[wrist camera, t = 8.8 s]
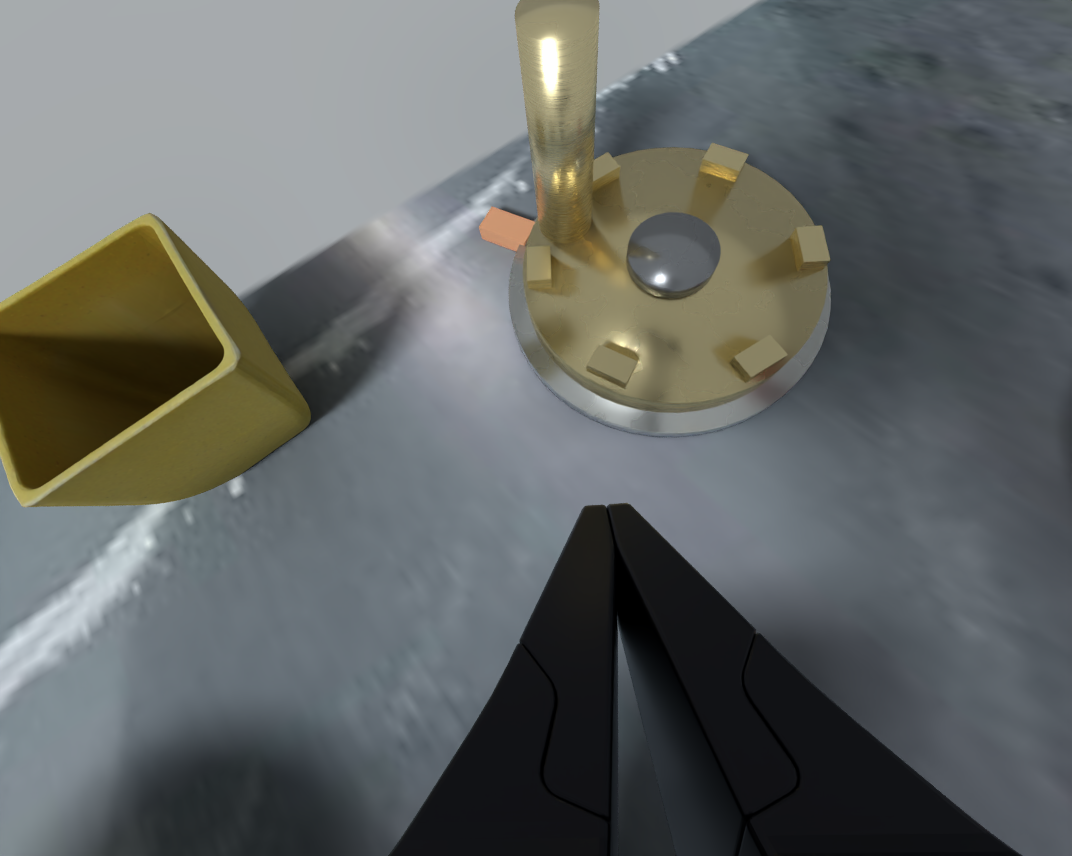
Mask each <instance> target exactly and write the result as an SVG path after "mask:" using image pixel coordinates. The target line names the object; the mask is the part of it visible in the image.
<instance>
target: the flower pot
mask: <svg viewBox="0 0 1072 856" xmlns="http://www.w3.org/2000/svg"><path fill="white" fill-rule="evenodd" d="M310 420H311V412H310V409H309V407H308V404H307V402H306V401H305V399H304V398H303V396H302V395H301V393H300V392H299V390H298V389H297V387H296V386H295V384H294V383H293V381H292V380H291V378H290V376H289V375H288V373H287V372H286V370H285V369H284V367H283V366H282V364H281V362H280V361H279V359H278V358H277V356H276V355H275V353H274V351H273V350H272V348H271V347H270V345H269V343H268V342H267V340H266V338H265V337H264V335H263V333H262V332H261V330H260V328H259V326H258V325H257V323H256V322H255V320H254V319H253V317H252V316H251V314H250V313H249V311H248V310H247V308H246V307H245V306H244V304H243V303H242V302H241V301H240V299H239V298H238V297H237V296H236V295H235V294H234V292H233V291H232V290H231V289H230V288H229V287H228V286H227V285H226V284H225V283H224V282H223V281H222V280H221V279H220V278H219V277H218V276H217V275H216V274H215V273H214V272H213V271H212V270H211V269H210V268H209V267H208V266H207V265H206V264H205V263H204V262H203V261H202V260H201V259H200V258H199V257H198V256H197V255H196V254H195V253H194V252H193V251H192V250H191V249H190V248H189V247H188V246H187V245H186V244H185V243H184V242H183V241H182V240H181V239H180V238H179V237H178V236H177V235H176V234H175V233H174V232H173V231H172V230H171V229H170V228H169V227H168V226H167V225H166V224H165V223H164V222H163V221H162V220H161V219H160V218H158V217H157V216H155V215H153V214H151V213H148V214H145V215H143V216H141V217H139V218H137V219H135V220H133V221H132V222H130V223H128V224H127V225H125V226H123V227H121V228H120V229H118V230H116V231H114V232H113V233H112V234H110V235H108V236H107V237H105V238H104V239H102V240H101V241H99V242H98V243H96V244H95V245H93V246H91V247H90V248H88V249H87V250H85V251H83V252H82V253H80V254H78V255H77V256H75V257H74V258H72V259H71V260H69V261H68V262H66V263H65V264H63V265H62V266H60V267H58V268H56V269H55V270H53V271H52V272H50V273H48V274H47V275H45V276H43V277H42V278H40V279H39V280H37V281H36V282H34V283H32V284H31V285H29V286H27V287H26V288H24V289H23V290H20V291H19V292H17V293H15V294H14V295H12V296H10V297H9V298H7V299H5V300H4V301H2V302H0V457H1V460H2V463H3V466H4V469H5V471H6V474H7V478H8V481H9V484H10V487H11V489H12V491H13V493H14V495H15V496H16V498H17V499H18V501H19V502H20V504H21V505H22V507H39V506H118V505H148V504H159V503H166V502H172V501H177V500H181V499H185V498H188V497H192V496H195V495H198V494H201V493H203V492H206V491H208V490H211V489H213V488H215V487H217V486H219V485H221V484H223V483H225V482H227V481H229V480H231V479H233V478H235V477H237V476H239V475H240V474H242V473H243V472H244V471H246V470H247V469H249V468H250V467H252V466H253V465H254V464H256V463H257V462H259V461H260V460H261V459H263V458H264V457H266V456H267V455H268V454H270V453H271V452H272V451H274V450H275V449H277V448H278V447H280V446H281V445H283V444H284V443H285V442H287V441H288V440H290V439H291V438H293V437H294V436H296V435H297V434H298V433H300V432H301V431H303V430H304V429H305V428H306V427H307V426H308V425H309V423H310Z"/></svg>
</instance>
